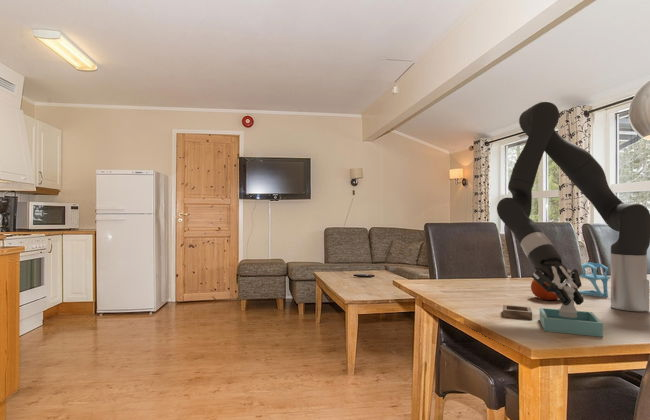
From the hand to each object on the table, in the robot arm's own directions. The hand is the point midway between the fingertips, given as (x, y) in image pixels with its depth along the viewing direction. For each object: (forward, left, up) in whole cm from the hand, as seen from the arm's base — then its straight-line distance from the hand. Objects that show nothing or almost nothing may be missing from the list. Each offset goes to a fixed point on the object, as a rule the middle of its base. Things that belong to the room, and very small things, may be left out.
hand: (574, 303), depth 106 cm
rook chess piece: (+1, -2, -4) cm, 5 cm away
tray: (+1, -2, -7) cm, 7 cm away
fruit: (+2, -41, -7) cm, 41 cm away
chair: (-15, -57, -7) cm, 59 cm away
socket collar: (+13, -11, -7) cm, 18 cm away
